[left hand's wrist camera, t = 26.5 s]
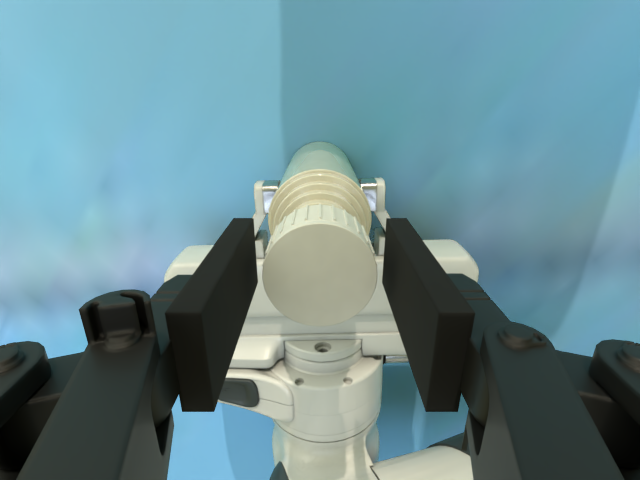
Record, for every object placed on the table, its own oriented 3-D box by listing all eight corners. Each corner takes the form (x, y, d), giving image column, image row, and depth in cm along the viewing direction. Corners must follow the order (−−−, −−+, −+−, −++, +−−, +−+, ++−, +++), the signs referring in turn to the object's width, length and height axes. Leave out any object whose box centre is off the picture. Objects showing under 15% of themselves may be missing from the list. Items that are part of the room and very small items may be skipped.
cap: (359, 191, 13) (366, 208, 11) (378, 285, 15) (388, 315, 13) (256, 215, 14) (245, 236, 12) (284, 304, 15) (279, 338, 13)
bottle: (364, 167, 29) (422, 254, 13) (326, 216, 30) (333, 351, 14) (312, 127, 28) (302, 167, 12) (275, 180, 29) (220, 282, 13)
